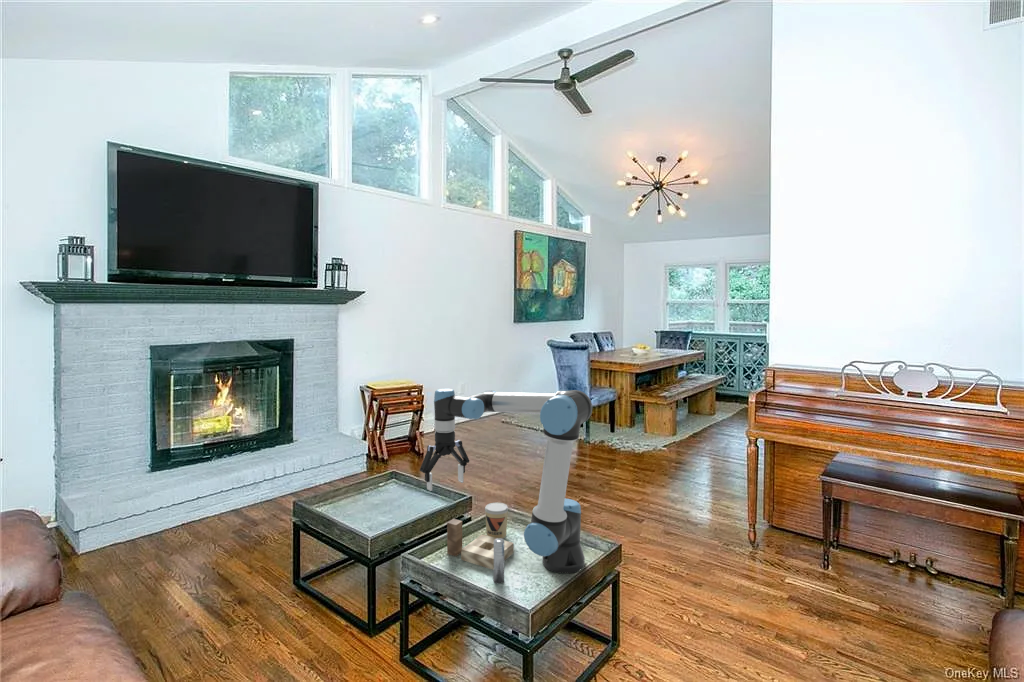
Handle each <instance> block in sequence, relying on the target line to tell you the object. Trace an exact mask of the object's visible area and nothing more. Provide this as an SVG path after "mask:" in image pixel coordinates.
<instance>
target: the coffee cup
mask: <svg viewBox="0 0 1024 682" xmlns="http://www.w3.org/2000/svg"><path fill="white" fill-rule="evenodd" d="M484 511H485V512H484V513H485V515H484V516H485V528H486V535H487V536H491V537H494V538H501V539H504V540H505V538H506V537H507V531H508V530H507V528H508V517H509V516H508V515H509V514H508V513H509V506H508V504H506V503H503V502H497V501H496V502H490V503H488V504H486V505H485V507H484Z"/></svg>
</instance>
